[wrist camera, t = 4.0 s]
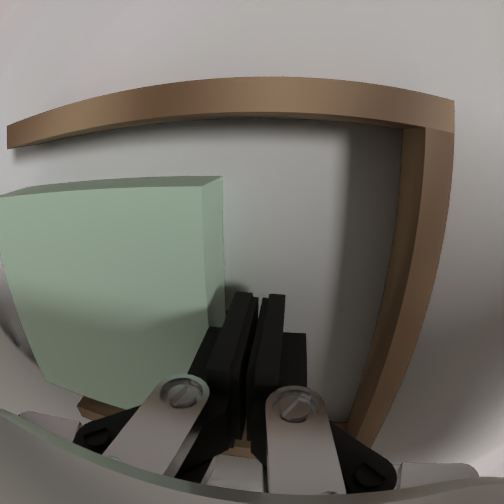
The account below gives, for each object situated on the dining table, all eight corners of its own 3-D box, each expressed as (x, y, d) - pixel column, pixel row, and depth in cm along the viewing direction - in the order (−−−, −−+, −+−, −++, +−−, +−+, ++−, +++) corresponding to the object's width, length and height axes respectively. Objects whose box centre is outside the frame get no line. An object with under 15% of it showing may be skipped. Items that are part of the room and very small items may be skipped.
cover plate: (225, 174, 11) (201, 186, 8) (230, 384, 14) (218, 429, 11) (33, 185, 12) (-10, 198, 9) (72, 351, 15) (45, 380, 13)
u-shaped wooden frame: (427, 106, 8) (454, 100, 6) (360, 432, 14) (363, 460, 12) (38, 123, 10) (6, 125, 8) (96, 395, 16) (82, 416, 14)
